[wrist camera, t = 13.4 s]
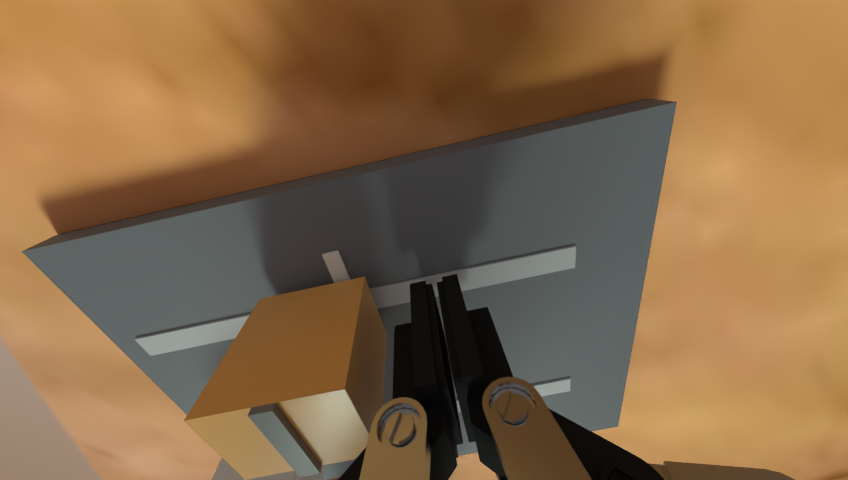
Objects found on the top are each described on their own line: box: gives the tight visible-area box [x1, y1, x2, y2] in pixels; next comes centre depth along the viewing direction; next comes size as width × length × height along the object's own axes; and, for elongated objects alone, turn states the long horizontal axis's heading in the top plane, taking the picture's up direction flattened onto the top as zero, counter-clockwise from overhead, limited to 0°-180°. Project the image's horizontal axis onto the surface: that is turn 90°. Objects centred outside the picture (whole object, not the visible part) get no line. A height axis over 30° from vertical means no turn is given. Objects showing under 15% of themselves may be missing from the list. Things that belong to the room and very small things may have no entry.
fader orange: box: [184, 277, 387, 480], centre depth 10 cm, size 4×3×5 cm
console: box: [22, 99, 676, 480], centre depth 15 cm, size 22×18×1 cm
